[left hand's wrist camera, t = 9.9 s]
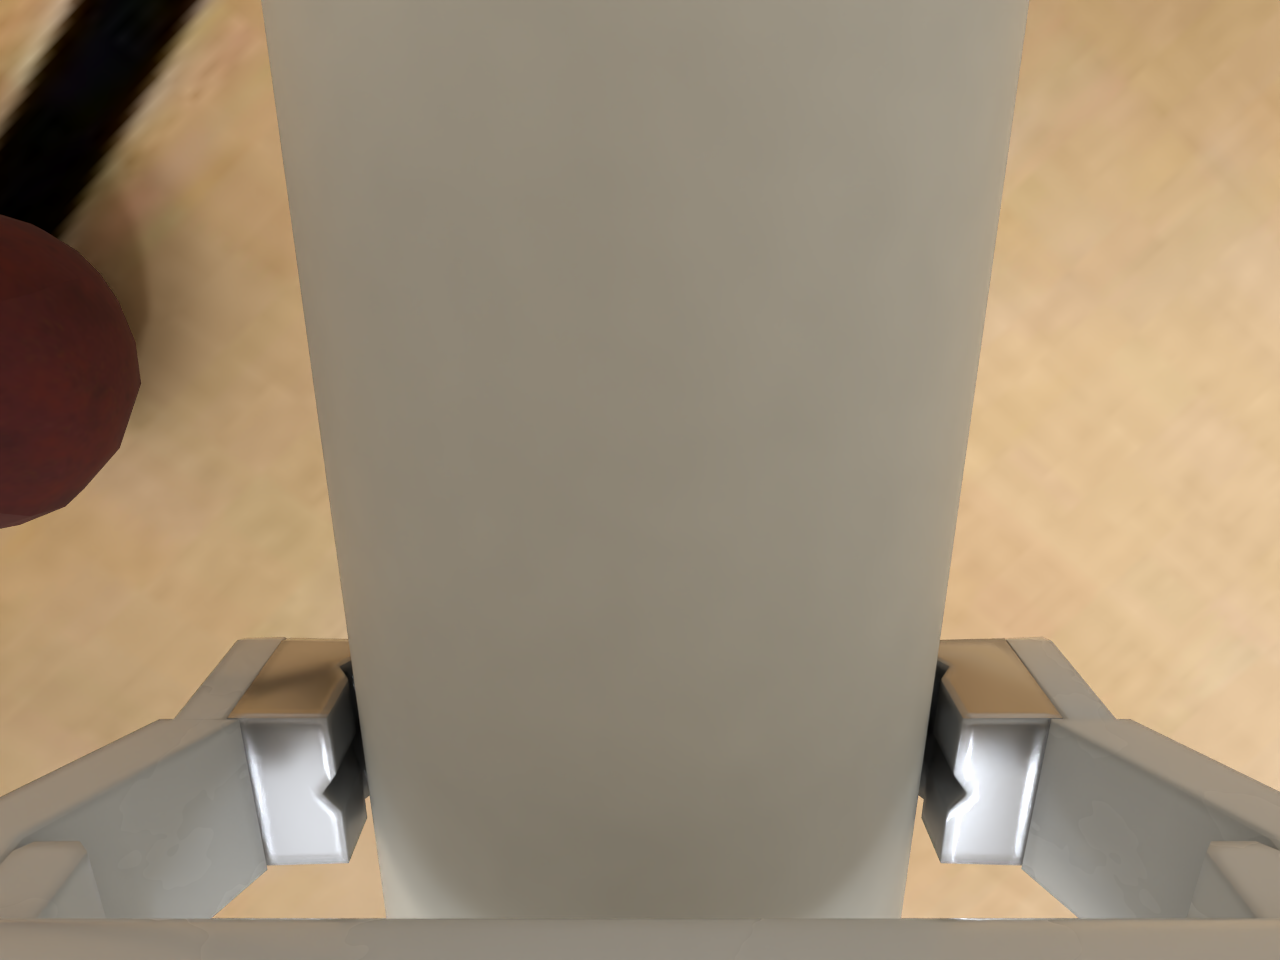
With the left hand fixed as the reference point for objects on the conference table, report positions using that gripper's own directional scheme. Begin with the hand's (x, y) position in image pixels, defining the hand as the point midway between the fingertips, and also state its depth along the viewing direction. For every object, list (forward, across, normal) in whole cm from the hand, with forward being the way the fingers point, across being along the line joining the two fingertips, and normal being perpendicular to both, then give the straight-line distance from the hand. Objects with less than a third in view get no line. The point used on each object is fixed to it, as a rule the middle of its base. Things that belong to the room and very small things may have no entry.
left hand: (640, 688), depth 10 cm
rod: (+3, 0, -8) cm, 9 cm away
